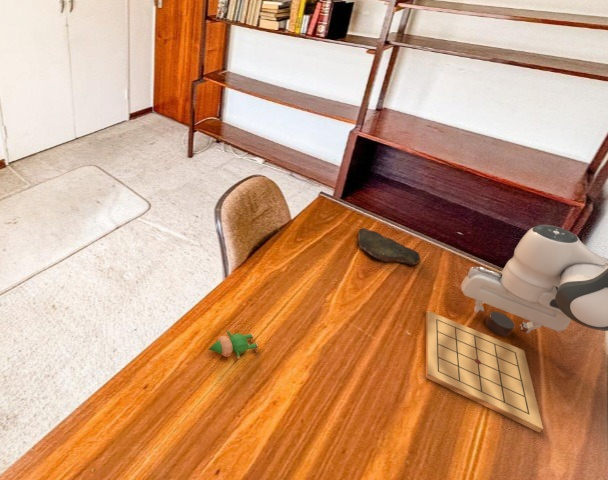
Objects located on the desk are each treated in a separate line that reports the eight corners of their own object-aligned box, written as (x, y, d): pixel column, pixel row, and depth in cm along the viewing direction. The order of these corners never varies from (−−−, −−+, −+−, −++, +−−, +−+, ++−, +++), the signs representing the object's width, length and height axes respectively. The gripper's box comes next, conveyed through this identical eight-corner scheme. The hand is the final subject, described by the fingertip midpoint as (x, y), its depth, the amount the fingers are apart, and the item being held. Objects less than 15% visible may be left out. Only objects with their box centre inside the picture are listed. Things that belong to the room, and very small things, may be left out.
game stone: (508, 325, 103) (513, 317, 102) (511, 340, 99) (516, 332, 98) (484, 315, 106) (489, 308, 104) (486, 330, 102) (491, 322, 101)
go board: (521, 354, 96) (524, 350, 95) (539, 433, 81) (543, 428, 80) (425, 314, 105) (427, 310, 105) (425, 377, 90) (428, 373, 89)
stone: (419, 258, 124) (422, 251, 123) (412, 279, 116) (415, 271, 115) (359, 232, 134) (361, 225, 133) (349, 250, 126) (351, 243, 125)
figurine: (259, 360, 93) (211, 369, 90) (247, 333, 99) (201, 341, 96) (263, 347, 91) (214, 357, 88) (250, 321, 97) (204, 329, 94)
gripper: (473, 271, 98) (452, 309, 104) (584, 312, 89) (554, 351, 95) (471, 256, 103) (451, 293, 109) (576, 293, 93) (548, 331, 99)
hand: (500, 320), depth 102 cm, fingers open, 8 cm apart
